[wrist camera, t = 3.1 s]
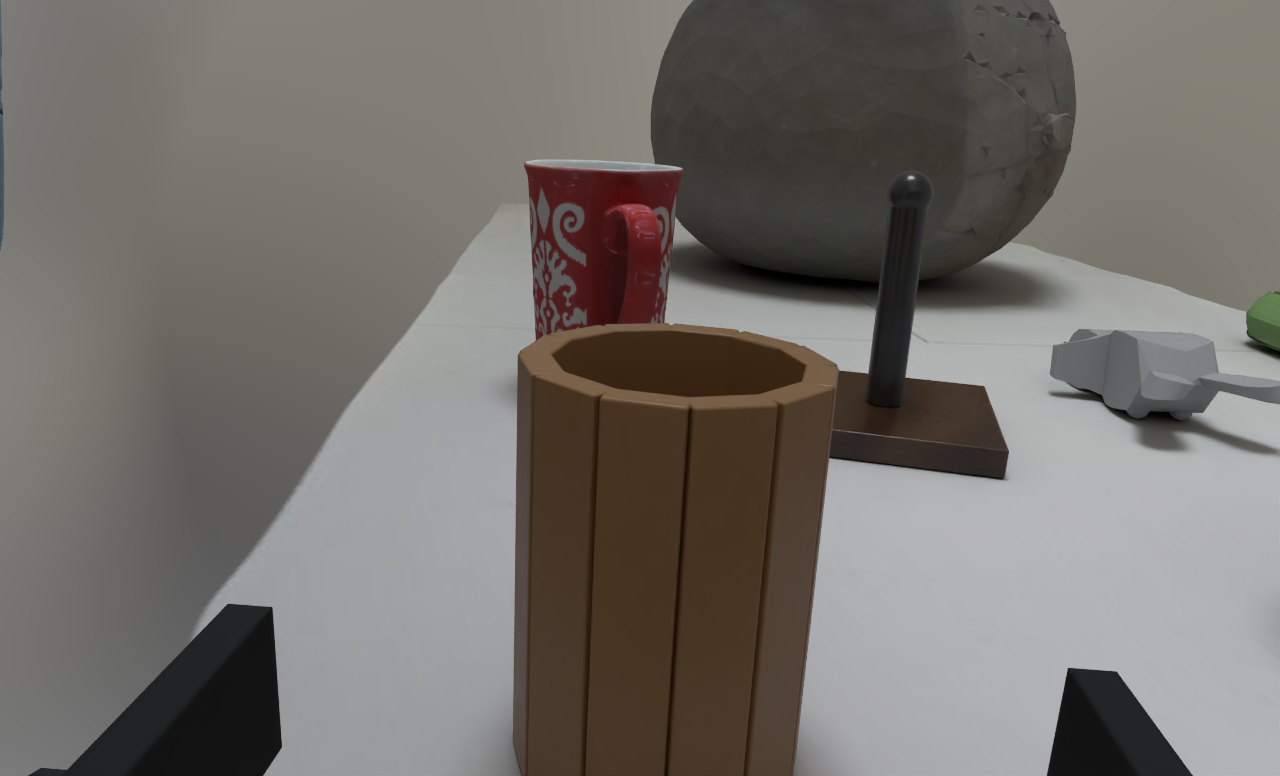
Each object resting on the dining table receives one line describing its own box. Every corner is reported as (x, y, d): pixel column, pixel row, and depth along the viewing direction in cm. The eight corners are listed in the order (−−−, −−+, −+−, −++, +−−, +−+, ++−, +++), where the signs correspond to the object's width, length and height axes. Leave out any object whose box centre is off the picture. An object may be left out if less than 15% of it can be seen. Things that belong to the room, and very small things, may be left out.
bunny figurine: (1160, 322, 67) (1319, 351, 52) (1150, 395, 67) (1304, 444, 53) (1027, 317, 66) (1148, 344, 51) (1018, 390, 67) (1136, 437, 52)
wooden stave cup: (471, 808, 24) (470, 381, 21) (566, 648, 31) (576, 313, 28) (779, 876, 22) (829, 424, 19) (804, 690, 29) (843, 340, 26)
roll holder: (761, 448, 50) (787, 169, 46) (783, 387, 61) (805, 158, 57) (1004, 479, 47) (1054, 186, 43) (981, 409, 58) (1018, 171, 54)
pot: (1140, 296, 101) (1202, -11, 92) (863, 335, 76) (912, -77, 68) (833, 237, 135) (857, 9, 126) (573, 252, 110) (581, -31, 102)
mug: (510, 372, 61) (513, 155, 57) (646, 368, 64) (657, 160, 60) (546, 439, 50) (552, 173, 46) (711, 431, 52) (730, 178, 48)
